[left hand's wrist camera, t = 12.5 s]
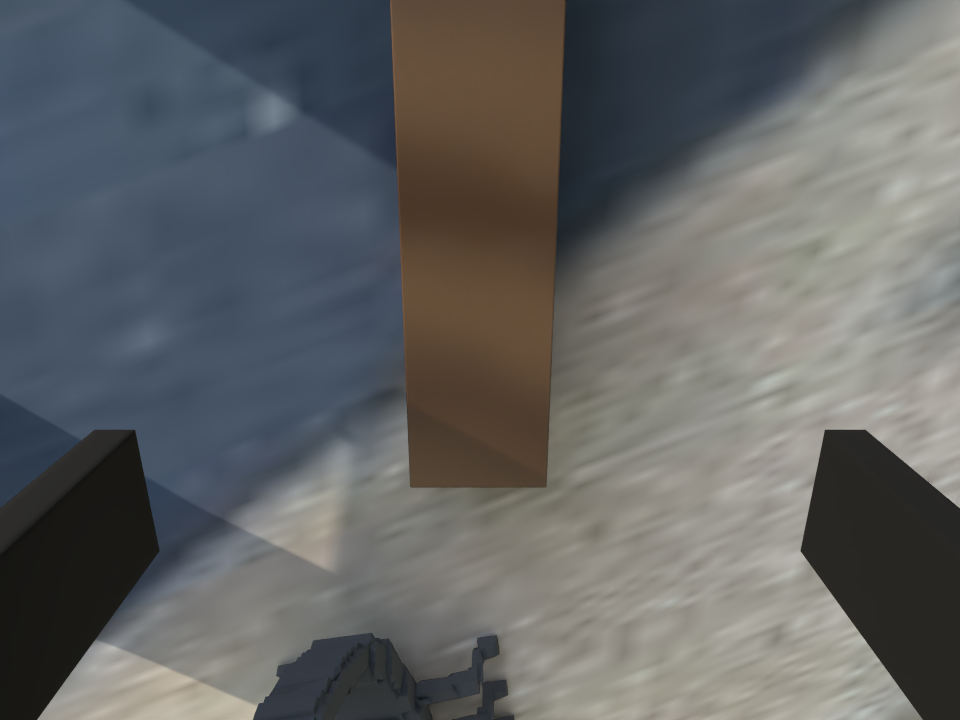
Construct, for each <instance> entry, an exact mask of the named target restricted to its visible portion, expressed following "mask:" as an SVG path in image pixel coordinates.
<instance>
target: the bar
mask: <svg viewBox="0 0 960 720" xmlns="http://www.w3.org/2000/svg"><path fill="white" fill-rule="evenodd" d="M390 10H391V34H392V58H393V83H394V107H395V131H396V155H397V179H398V203H399V227H400V251H401V275H402V299H403V324H404V348H405V372H406V396H407V420H408V444H409V468H410V486H411V487H546V486H547V461H548V437H549V412H550V388H551V363H552V339H553V314H554V289H555V265H556V240H557V216H558V191H559V167H560V142H561V118H562V93H563V68H564V44H565V19H566V0H390Z"/></svg>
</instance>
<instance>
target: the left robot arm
mask: <svg viewBox="0 0 960 720" xmlns="http://www.w3.org/2000/svg"><path fill="white" fill-rule="evenodd" d="M158 552H159V547H158V542H157V537H156V532H155V527H154V522H153V517H152V512H151V507H150V502H149V497H148V492H147V487H146V482H145V477H144V472H143V467H142V462H141V457H140V452H139V447H138V443H137V438H136V433H135V430H94V431H93V432H92V433H90V434H89V435H88V436H87V437H86V438H84V439H83V440H82V441H81V442H79V443H78V444H77V445H76V446H75V447H73V448H72V449H71V450H70V451H69V452H67V453H66V454H65V455H64V456H63V457H61V458H60V459H59V460H58V461H57V462H55V463H54V464H53V465H52V466H51V467H49V468H48V469H47V470H46V471H45V472H43V473H42V474H41V475H40V476H39V477H37V478H36V479H35V480H34V481H33V482H31V483H30V484H29V485H28V486H27V487H25V488H24V489H23V490H22V491H21V492H19V493H18V494H17V495H16V496H15V497H13V498H12V499H11V500H10V501H9V502H7V503H6V504H5V505H4V506H3V507H1V508H0V720H37V719H38V718H39V716H40V715H41V713H42V712H43V711H44V709H45V708H46V707H47V705H48V704H49V702H50V701H51V700H52V698H53V697H54V696H55V694H56V693H57V691H58V690H59V689H60V687H61V686H62V685H63V683H64V682H65V680H66V679H67V678H68V676H69V675H70V673H71V672H72V671H73V669H74V668H75V667H76V665H77V664H78V662H79V661H80V660H81V658H82V657H83V656H84V654H85V653H86V651H87V650H88V649H89V647H90V646H91V645H92V643H93V642H94V640H95V639H96V638H97V636H98V635H99V634H100V632H101V631H102V629H103V628H104V627H105V625H106V624H107V623H108V621H109V620H110V618H111V617H112V616H113V614H114V613H115V611H116V610H117V609H118V607H119V606H120V605H121V603H122V602H123V600H124V599H125V598H126V596H127V595H128V594H129V592H130V591H131V589H132V588H133V587H134V585H135V584H136V583H137V581H138V580H139V578H140V577H141V576H142V574H143V573H144V572H145V570H146V569H147V567H148V566H149V565H150V563H151V562H152V561H153V559H154V558H155V556H156V555H157V554H158ZM801 552H802V554H803V555H804V556H805V558H806V559H807V561H808V562H809V563H810V565H811V566H812V567H813V569H814V570H815V572H816V573H817V574H818V576H819V577H820V578H821V580H822V581H823V583H824V584H825V585H826V587H827V588H828V589H829V591H830V592H831V594H832V595H833V596H834V598H835V599H836V600H837V602H838V603H839V605H840V606H841V607H842V609H843V610H844V611H845V613H846V614H847V616H848V617H849V618H850V620H851V621H852V623H853V624H854V625H855V627H856V628H857V629H858V631H859V632H860V634H861V635H862V636H863V638H864V639H865V640H866V642H867V643H868V645H869V646H870V647H871V649H872V650H873V651H874V653H875V654H876V656H877V657H878V658H879V660H880V661H881V662H882V664H883V665H884V667H885V668H886V669H887V671H888V672H889V673H890V675H891V676H892V678H893V679H894V680H895V682H896V683H897V685H898V686H899V687H900V689H901V690H902V691H903V693H904V694H905V696H906V697H907V698H908V700H909V701H910V702H911V704H912V705H913V707H914V708H915V709H916V711H917V712H918V713H919V715H920V716H921V718H922V719H923V720H960V508H959V507H957V506H956V505H955V504H954V503H953V502H951V501H950V500H949V499H948V498H947V497H945V496H944V495H943V494H942V493H941V492H939V491H938V490H937V489H936V488H935V487H933V486H932V485H931V484H930V483H929V482H927V481H926V480H925V479H924V478H923V477H921V476H920V475H919V474H918V473H917V472H915V471H914V470H913V469H912V468H911V467H909V466H908V465H907V464H906V463H905V462H903V461H902V460H901V459H900V458H899V457H897V456H896V455H895V454H894V453H893V452H891V451H890V450H889V449H888V448H887V447H885V446H884V445H883V444H882V443H881V442H879V441H878V440H877V439H876V438H874V437H873V436H872V435H871V434H870V433H868V432H867V431H866V430H825V433H824V438H823V443H822V447H821V452H820V457H819V462H818V467H817V472H816V477H815V482H814V487H813V492H812V497H811V502H810V507H809V512H808V517H807V522H806V527H805V532H804V537H803V542H802V547H801Z"/></svg>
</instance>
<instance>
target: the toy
mask: <svg viewBox="0 0 960 720" xmlns="http://www.w3.org/2000/svg"><path fill="white" fill-rule="evenodd" d="M477 640H478V648H474V649H473V653H472V668H468V670H467V671H462V672H457V673H452V674H451V675H449V676H448V677H444V678H437V679H430V680H423V681H420V682H419V683H417V684H416V682H415V680H414V678H413V676H412V675H411V673H410V672H409V671H408V669H407V668H406V666H405V665H404V664H403V663H402V662H401V660H400V658H399V656H398V654H397V652H396V650H395V649H394V647H393V645H392V643H391V641H390V640H389V639H381V640H380V638H375V637H374V636H373V634H372V633H367V634H360V635H352V636H345V637H337V638H330V639H322V640H315V641H313V643H312V647H311V650H307V652H306V653H302V656H301V657H299V658H297V661H296V662H294V663H292V664H287V665H280V666H278V670H277V675H276V676H278V677H280V679H279V681H278V682H277V684H276V686H275V687H274V689H273V691H272V692H271V694H270V695H269V696H268V697H265V700H264V703H260V704H259V705H258V707H257V710H256V713H255V715H254V719H253V720H433V719H432V715H431V712H430V709H429V706H428V704H433V703H438V702H443V701H448V700H453V699H458V698H462V697H466V696H470V695H474V694H478V693H480V683H483V663H484V660H486V659H489V658H492V657H495V656H497V655H499V645H498V640H497V635H495V636H488V637H481V638H477ZM507 695H508V687H507V682H506V680H502V681H495V682H487V683H483V707H479V708H478V710H477V715H470V716H466V717H462V718H458V719H453V720H514V715H512V716H507V717H502V718H497V719H494V701H495V700H497V699H500V698H503V697H505V696H507Z"/></svg>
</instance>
